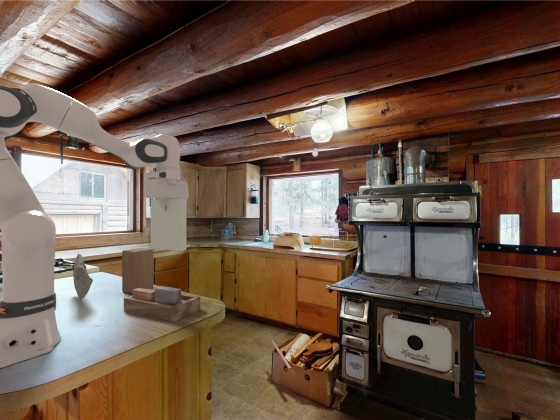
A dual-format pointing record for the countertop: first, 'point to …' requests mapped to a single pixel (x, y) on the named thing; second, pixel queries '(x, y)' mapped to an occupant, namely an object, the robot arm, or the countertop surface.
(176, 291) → the charcoal offcut
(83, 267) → the rock
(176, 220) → the white rectangular panel
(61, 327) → the countertop surface
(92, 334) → the countertop surface
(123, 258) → the wooden block
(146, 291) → the cedar offcut
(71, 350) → the countertop surface
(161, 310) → the walnut tray
